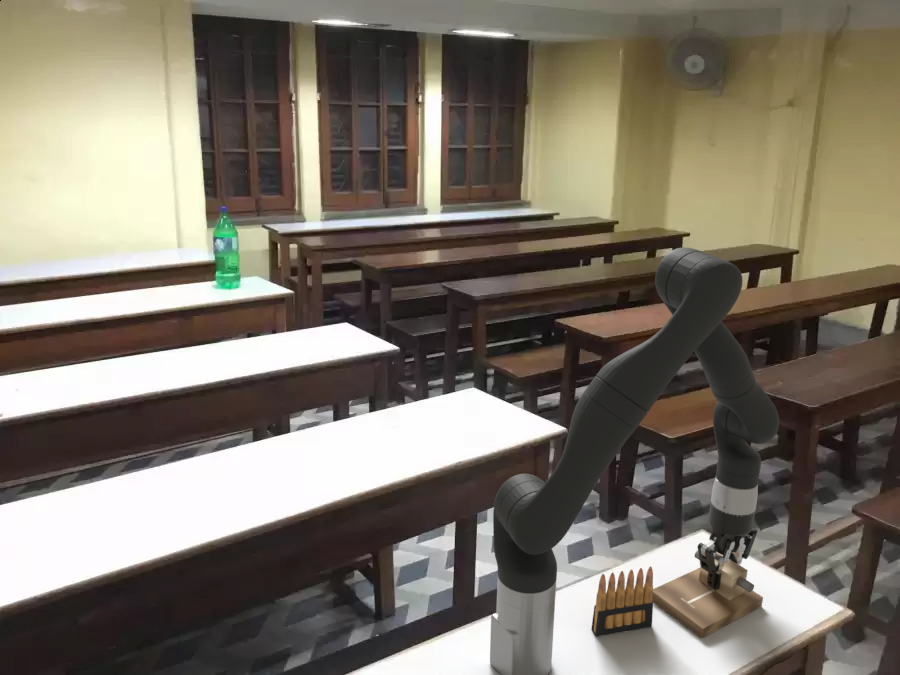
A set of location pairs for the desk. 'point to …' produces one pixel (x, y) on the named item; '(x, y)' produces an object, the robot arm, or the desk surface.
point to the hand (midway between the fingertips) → (721, 583)
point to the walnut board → (702, 604)
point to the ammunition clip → (623, 604)
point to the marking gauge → (729, 579)
